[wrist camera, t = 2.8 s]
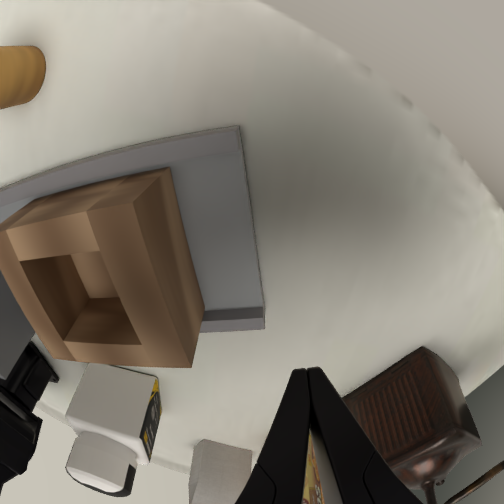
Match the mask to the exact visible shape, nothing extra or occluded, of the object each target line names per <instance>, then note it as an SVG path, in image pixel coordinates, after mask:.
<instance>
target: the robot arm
mask: <svg viewBox="0 0 504 504" xmlns="http://www.w3.org/2000/svg"><path fill="white" fill-rule="evenodd" d="M49 381H50V382H55V383H58V381H59V378H58V377H57V376H56V374H55V373H54V372H53V371H52V369H51V368H50V367H49V365H48V364H47V363H46V361H45V360H44V359H43V357H42V356H41V354H40V353H39V352H38V350H37V349H36V347H35V346H34V345H33V344H32V343H31V342H29V343H28V344H27V346H26V347H25V349H24V351H23V352H22V354H21V355H20V357H19V358H18V360H17V362H16V363H15V365H14V367H13V368H12V370H11V372H10V373H9V375H8V377H7V379H6V380H5V379H1V378H0V494H1V490H2V487H3V484H4V483H6V482H7V481H9V480H10V479H12V478H14V477H15V476H17V475H18V474H19V475H21V474H23V473H24V472H25V471H26V470H27V465H28V462H29V460H30V459H31V458H32V456H33V454H34V452H35V449H36V445H37V441H38V437H39V432H40V428H41V425H42V421H43V420H42V419H41V418H39V417H37V416H36V415H34V414H33V413H32V411H33V409H34V407H35V405H36V403H37V401H39V400H40V398H41V396H42V394H43V392H44V390H45V388H46V386H47V384H48V382H49ZM309 432H310V433H311V438H312V443H313V448H314V453H315V458H316V463H317V468H318V473H319V478H320V483H321V488H322V493H323V498H324V503H325V504H423V503H422V502H421V501H420V500H419V499H418V498H417V497H416V496H415V495H414V494H413V493H412V492H411V491H410V490H409V489H408V488H407V487H406V485H405V484H404V483H403V482H402V481H401V480H400V479H399V478H398V477H397V476H396V474H395V473H394V472H393V471H392V470H391V468H390V467H389V466H388V464H387V463H386V462H385V460H384V459H383V458H382V456H381V455H380V453H379V452H378V450H375V449H376V448H375V446H374V445H373V443H372V442H371V440H370V439H369V437H368V436H367V435H366V433H365V432H364V430H363V429H362V427H361V426H360V424H359V423H358V421H357V420H356V419H355V417H354V416H353V414H352V413H351V411H350V410H349V408H348V407H347V405H346V404H345V402H344V401H343V400H342V398H341V397H340V395H339V394H338V392H337V391H336V389H335V388H334V386H333V385H332V383H331V382H330V380H329V379H328V377H327V376H326V375H325V373H324V372H323V370H322V369H321V368H320V367H311V368H307V370H306V369H305V368H301V369H294V370H293V371H292V373H291V376H290V379H289V382H288V384H287V387H286V390H285V392H284V395H283V398H282V400H281V403H280V406H279V408H278V411H277V413H276V416H275V419H274V421H273V424H272V426H271V429H270V431H269V434H268V436H267V438H266V441H265V443H264V446H263V448H262V450H261V453H260V455H259V457H258V460H257V464H255V466H254V469H253V471H252V473H251V475H250V477H249V479H248V481H247V483H246V485H245V487H244V489H243V491H242V492H241V494H240V496H239V497H238V499H237V500H236V502H235V504H303V496H304V487H305V478H306V468H307V458H308V446H309Z"/></svg>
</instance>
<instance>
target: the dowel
mask: <svg viewBox="0 0 504 504" xmlns="http://www.w3.org/2000/svg"><path fill="white" fill-rule="evenodd" d="M45 71H46V64H45V58H44V55H43V53H42V52H41V50H40V49H39V48H37V47H35V46H0V109H4V108H8V107H12V106H16V105H20V104H24V103H27V102H29V101H30V100H32V99H33V98H34V97H35V96H36V94H37V93H38V92H39V90H40V88H41V86H42V84H43V81H44V77H45Z"/></svg>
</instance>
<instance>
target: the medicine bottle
mask: <svg viewBox="0 0 504 504" xmlns="http://www.w3.org/2000/svg"><path fill="white" fill-rule="evenodd" d="M160 416H161V404H160V396H159V387H158V379H157V378H156V377H154V376H150V375H146V374H141V373H137V372H133V371H129V370H126V369H122V368H118V367H114V366H111V365H107V364H98V363H89V364H88V366H87V368H86V370H85V372H84V374H83V376H82V378H81V381H80V383H79V385H78V387H77V389H76V392H75V394H74V396H73V398H72V401H71V403H70V405H69V407H68V410H67V412H66V415H65V417H66V419H67V421H68V422H69V424H70V425H71V427H72V428H73V430H74V431H75V432H76V434H77V435H78V437H77V438H76V439H75V442H74V444H73V447H72V450H71V453H70V455H69V459H68V462H67V464H66V467H65V468H66V471H67V473H69V475H70V476H71V477H72V478H73V479H74V480H75V481H77V482H78V483H80V484H82V485H84V486H86V487H88V488H91V489H93V490H95V491H98V492H100V493H103V494H106V495H110V496H114V497H125V496H128V495H130V494H131V490H132V486H133V481H134V477H135V473H136V469H137V464H138V463H140V464H143V465H148V464H149V463H150V459H151V454H152V450H153V446H154V441H155V437H156V433H157V429H158V425H159V421H160Z"/></svg>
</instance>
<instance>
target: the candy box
mask: <svg viewBox="0 0 504 504" xmlns="http://www.w3.org/2000/svg"><path fill="white" fill-rule="evenodd" d="M303 504H325V503H324V498H323V493H322V488H321V483H320V478H319V473H318V468H317V463H316V458H315V453H314V448H313V443H312V438H311V436H310V434H309V446H308V458H307V468H306V478H305V487H304V496H303Z"/></svg>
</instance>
